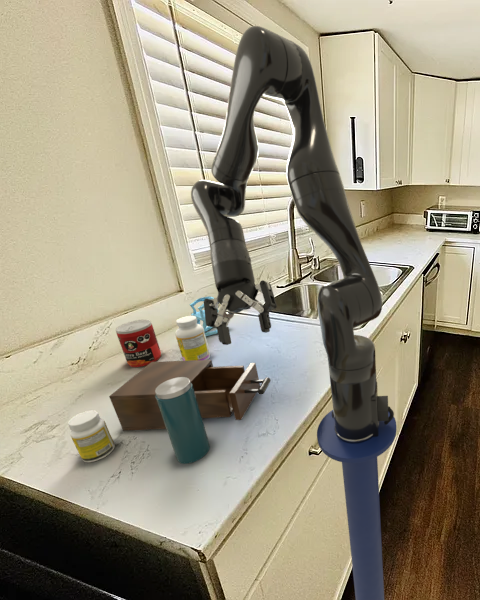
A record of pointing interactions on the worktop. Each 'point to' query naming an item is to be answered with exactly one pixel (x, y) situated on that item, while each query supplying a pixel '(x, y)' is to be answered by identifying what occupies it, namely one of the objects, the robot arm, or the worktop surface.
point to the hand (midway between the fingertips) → (246, 338)
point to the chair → (202, 315)
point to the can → (182, 419)
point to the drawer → (228, 390)
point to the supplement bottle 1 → (91, 436)
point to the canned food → (138, 342)
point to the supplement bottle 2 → (191, 339)
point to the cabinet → (151, 392)
